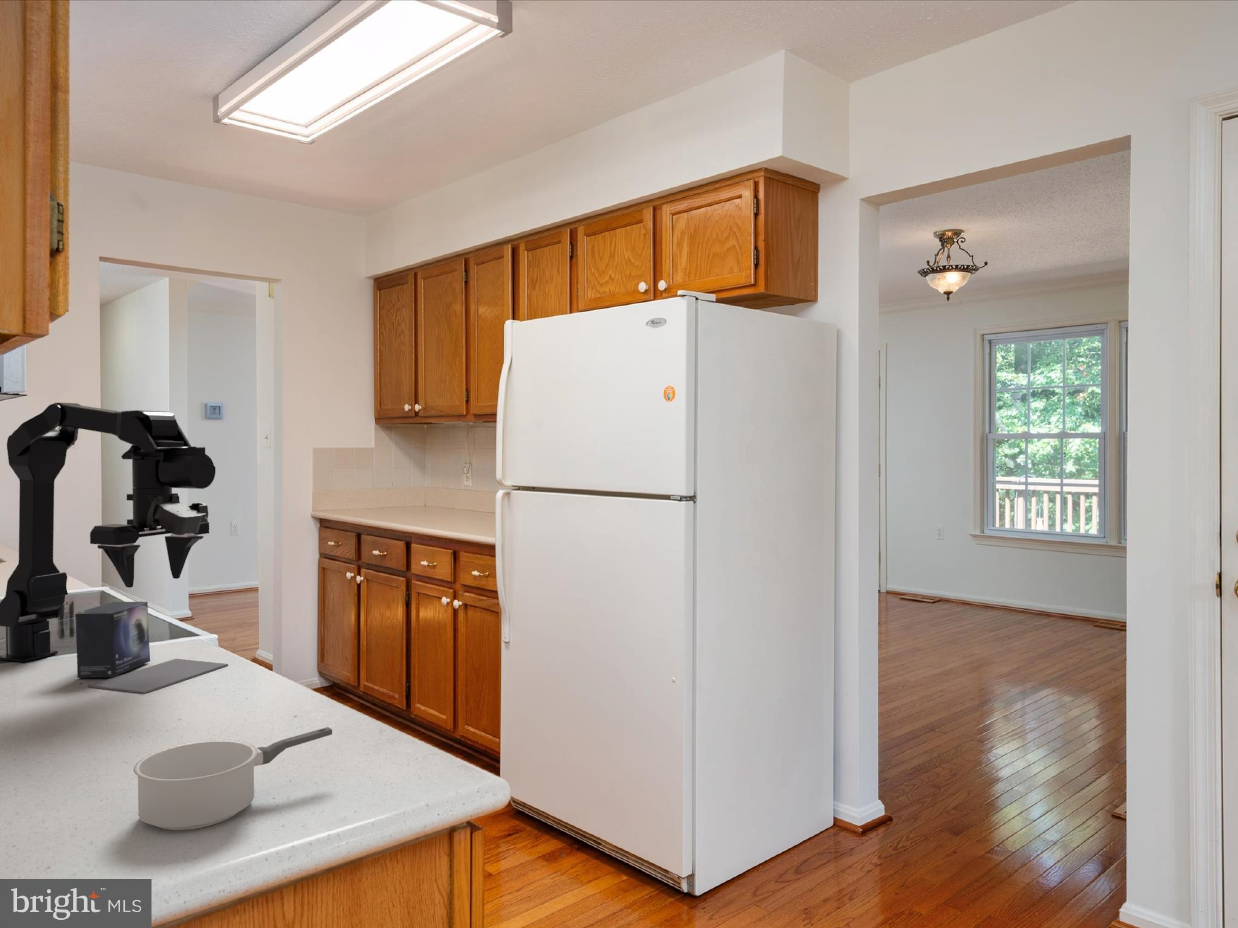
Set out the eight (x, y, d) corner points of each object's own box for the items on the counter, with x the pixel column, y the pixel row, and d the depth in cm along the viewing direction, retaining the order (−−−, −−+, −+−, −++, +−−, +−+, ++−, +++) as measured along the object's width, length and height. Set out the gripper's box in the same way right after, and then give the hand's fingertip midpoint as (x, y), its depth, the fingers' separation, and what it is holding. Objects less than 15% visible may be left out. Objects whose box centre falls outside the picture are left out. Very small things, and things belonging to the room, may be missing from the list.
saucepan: (353, 791, 95) (353, 740, 95) (153, 849, 82) (152, 790, 82) (309, 762, 104) (308, 715, 104) (120, 811, 90) (119, 757, 90)
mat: (88, 686, 134) (88, 685, 134) (176, 660, 150) (176, 658, 150) (144, 693, 131) (144, 691, 131) (228, 665, 147) (228, 663, 147)
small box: (116, 677, 138) (112, 611, 138) (75, 679, 138) (71, 613, 138) (153, 660, 149) (149, 599, 148) (115, 662, 149) (111, 601, 149)
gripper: (142, 492, 131) (143, 595, 132) (234, 485, 149) (235, 577, 149) (86, 490, 135) (88, 590, 135) (183, 484, 152) (184, 573, 153)
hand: (153, 582), depth 143 cm, fingers open, 9 cm apart
